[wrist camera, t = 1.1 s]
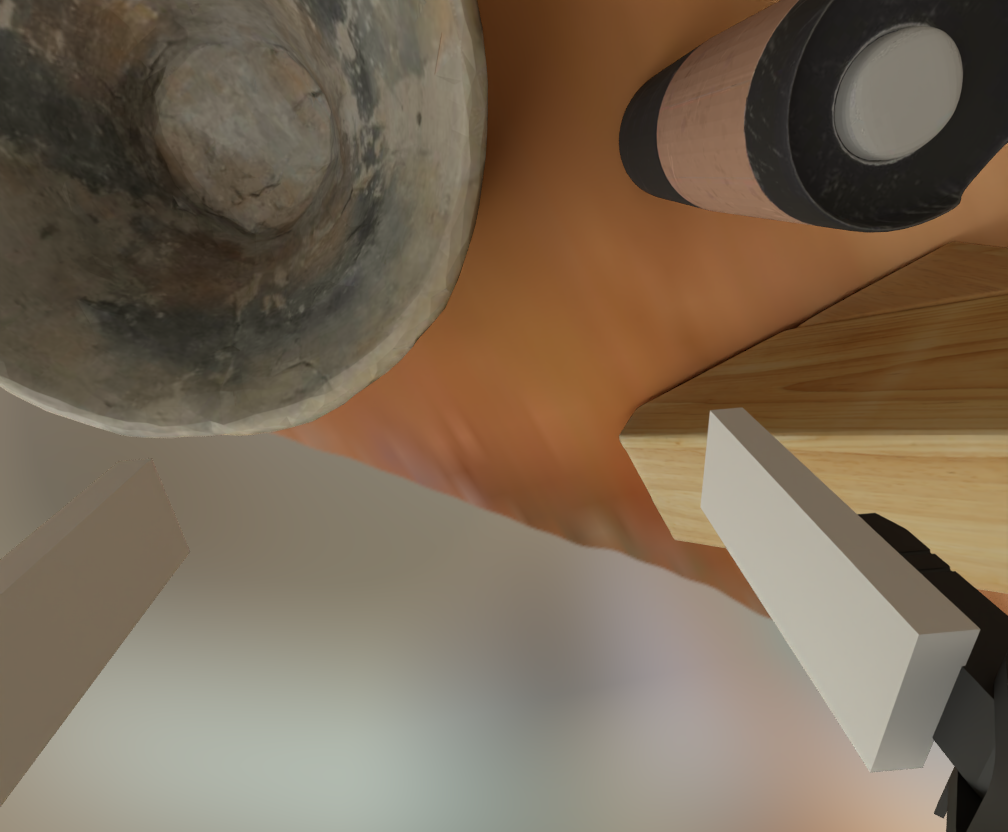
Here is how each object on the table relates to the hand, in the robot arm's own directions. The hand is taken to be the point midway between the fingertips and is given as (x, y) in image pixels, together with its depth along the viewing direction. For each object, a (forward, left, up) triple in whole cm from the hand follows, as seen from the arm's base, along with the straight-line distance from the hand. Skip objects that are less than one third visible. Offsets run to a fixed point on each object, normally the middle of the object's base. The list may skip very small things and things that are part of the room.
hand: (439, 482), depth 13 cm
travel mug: (-8, +14, -26) cm, 30 cm away
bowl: (-9, -11, -26) cm, 30 cm away
